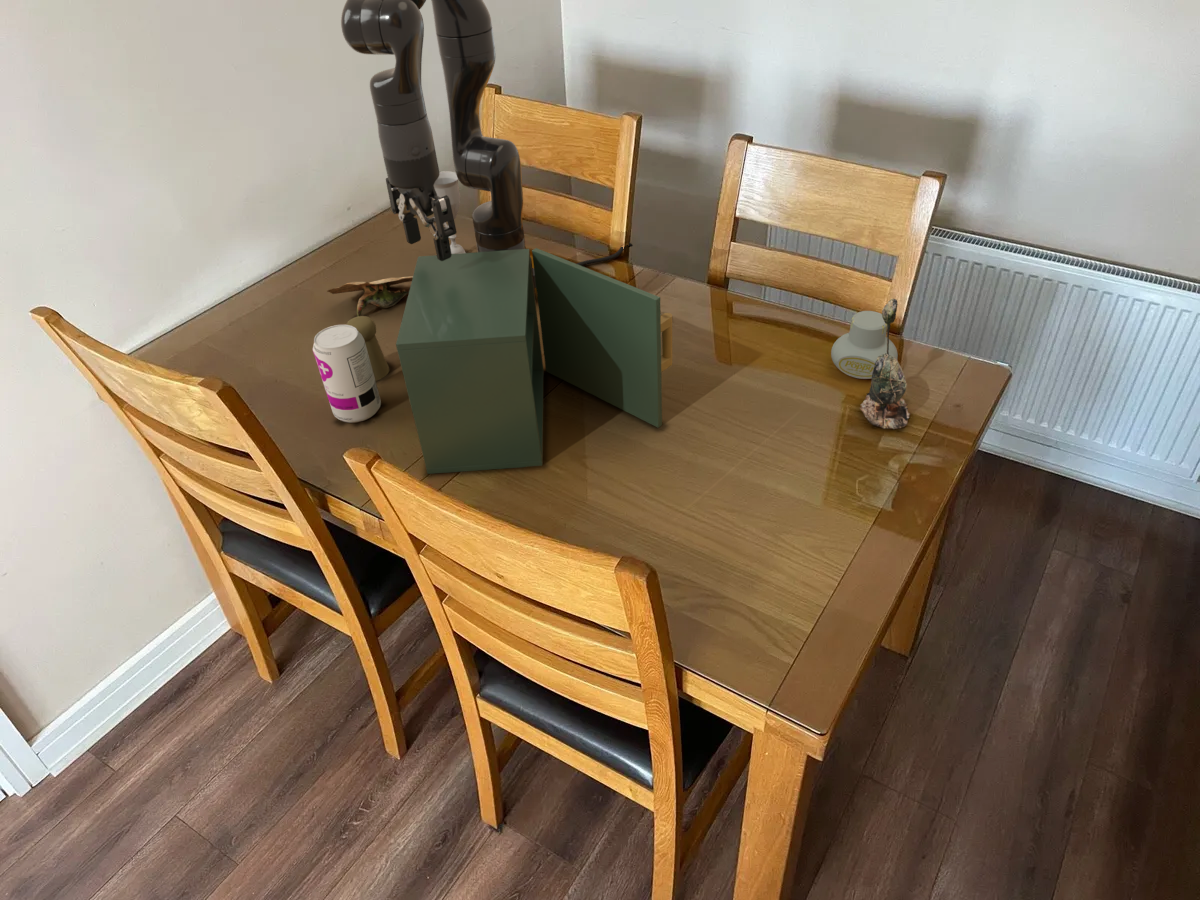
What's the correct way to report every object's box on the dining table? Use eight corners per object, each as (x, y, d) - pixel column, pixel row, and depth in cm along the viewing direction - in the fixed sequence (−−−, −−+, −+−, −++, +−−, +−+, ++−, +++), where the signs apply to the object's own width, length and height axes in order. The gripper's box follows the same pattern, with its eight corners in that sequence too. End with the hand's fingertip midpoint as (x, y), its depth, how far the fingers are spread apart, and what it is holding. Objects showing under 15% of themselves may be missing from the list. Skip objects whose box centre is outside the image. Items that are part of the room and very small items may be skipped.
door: (570, 355, 159) (559, 235, 144) (682, 409, 145) (683, 282, 129) (545, 371, 155) (531, 250, 140) (658, 427, 141) (656, 300, 126)
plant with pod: (847, 429, 139) (864, 321, 126) (868, 391, 146) (886, 285, 133) (898, 443, 135) (922, 333, 122) (917, 403, 143) (941, 296, 130)
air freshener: (824, 375, 150) (830, 325, 144) (835, 350, 156) (842, 301, 149) (889, 388, 146) (898, 338, 140) (898, 362, 152) (908, 312, 145)
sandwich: (387, 310, 188) (384, 274, 186) (431, 313, 179) (428, 275, 177) (314, 318, 174) (310, 278, 172) (357, 321, 165) (354, 280, 164)
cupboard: (543, 371, 156) (529, 248, 140) (542, 466, 136) (525, 335, 120) (443, 378, 156) (418, 256, 141) (427, 474, 136) (395, 344, 121)
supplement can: (340, 430, 146) (317, 355, 136) (328, 405, 151) (305, 331, 142) (387, 414, 148) (367, 340, 139) (373, 390, 154) (353, 317, 144)
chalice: (478, 252, 193) (465, 173, 181) (462, 266, 188) (448, 186, 176) (450, 247, 195) (436, 169, 184) (433, 261, 191) (418, 182, 179)
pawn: (381, 383, 156) (367, 330, 149) (350, 380, 157) (335, 328, 150) (394, 364, 160) (381, 312, 153) (364, 361, 161) (349, 310, 154)
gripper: (458, 152, 123) (475, 255, 134) (403, 129, 132) (424, 228, 142) (413, 169, 120) (435, 274, 130) (360, 144, 128) (384, 244, 139)
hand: (429, 250), depth 136 cm, fingers open, 8 cm apart
